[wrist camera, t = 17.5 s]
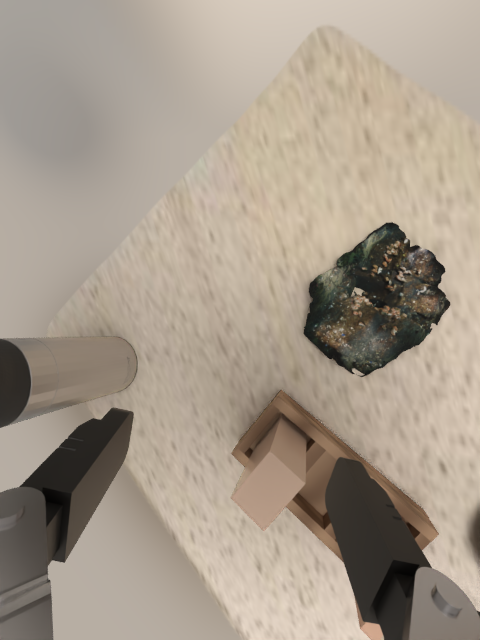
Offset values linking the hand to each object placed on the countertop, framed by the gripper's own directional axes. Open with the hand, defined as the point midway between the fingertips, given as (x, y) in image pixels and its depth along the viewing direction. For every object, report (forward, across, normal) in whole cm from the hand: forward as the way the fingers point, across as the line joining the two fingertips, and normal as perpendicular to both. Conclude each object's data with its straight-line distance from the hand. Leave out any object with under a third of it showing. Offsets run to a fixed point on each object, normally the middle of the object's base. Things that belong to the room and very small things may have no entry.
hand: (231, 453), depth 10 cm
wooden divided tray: (+21, -16, +18) cm, 32 cm away
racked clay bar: (+22, -9, +15) cm, 29 cm away
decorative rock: (+27, -17, -5) cm, 32 cm away
